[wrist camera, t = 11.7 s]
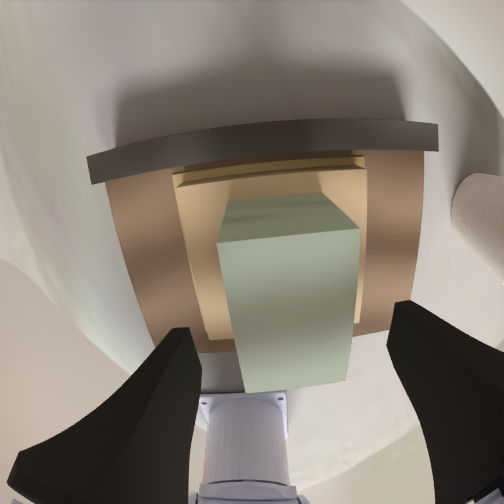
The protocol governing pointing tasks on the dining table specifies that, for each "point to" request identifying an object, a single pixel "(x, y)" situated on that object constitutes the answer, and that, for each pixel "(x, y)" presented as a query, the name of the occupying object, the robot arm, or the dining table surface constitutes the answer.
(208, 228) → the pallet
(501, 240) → the dixie cup
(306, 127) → the dock
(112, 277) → the dining table surface
